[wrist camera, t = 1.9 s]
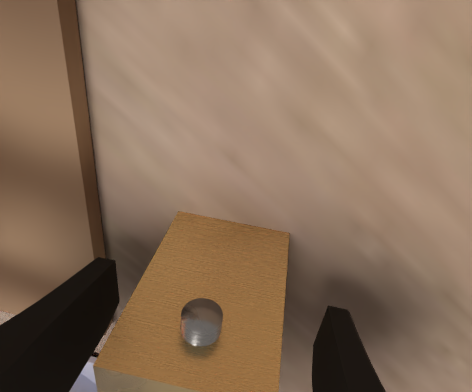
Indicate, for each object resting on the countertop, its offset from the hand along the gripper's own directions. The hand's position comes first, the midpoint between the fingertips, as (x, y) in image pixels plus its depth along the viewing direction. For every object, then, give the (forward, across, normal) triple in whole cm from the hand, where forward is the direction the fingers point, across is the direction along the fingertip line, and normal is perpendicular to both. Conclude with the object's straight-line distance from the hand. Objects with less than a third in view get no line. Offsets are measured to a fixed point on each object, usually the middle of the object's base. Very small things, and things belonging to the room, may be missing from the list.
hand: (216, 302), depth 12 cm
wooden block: (+2, 0, 0) cm, 2 cm away
